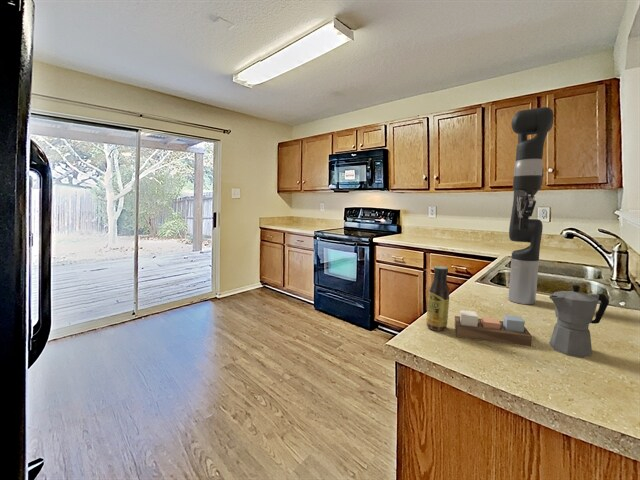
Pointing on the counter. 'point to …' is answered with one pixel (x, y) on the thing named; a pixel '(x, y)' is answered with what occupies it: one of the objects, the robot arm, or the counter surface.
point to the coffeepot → (575, 321)
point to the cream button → (468, 318)
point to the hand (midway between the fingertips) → (523, 229)
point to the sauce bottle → (438, 300)
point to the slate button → (513, 323)
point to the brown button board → (492, 334)
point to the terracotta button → (490, 323)
